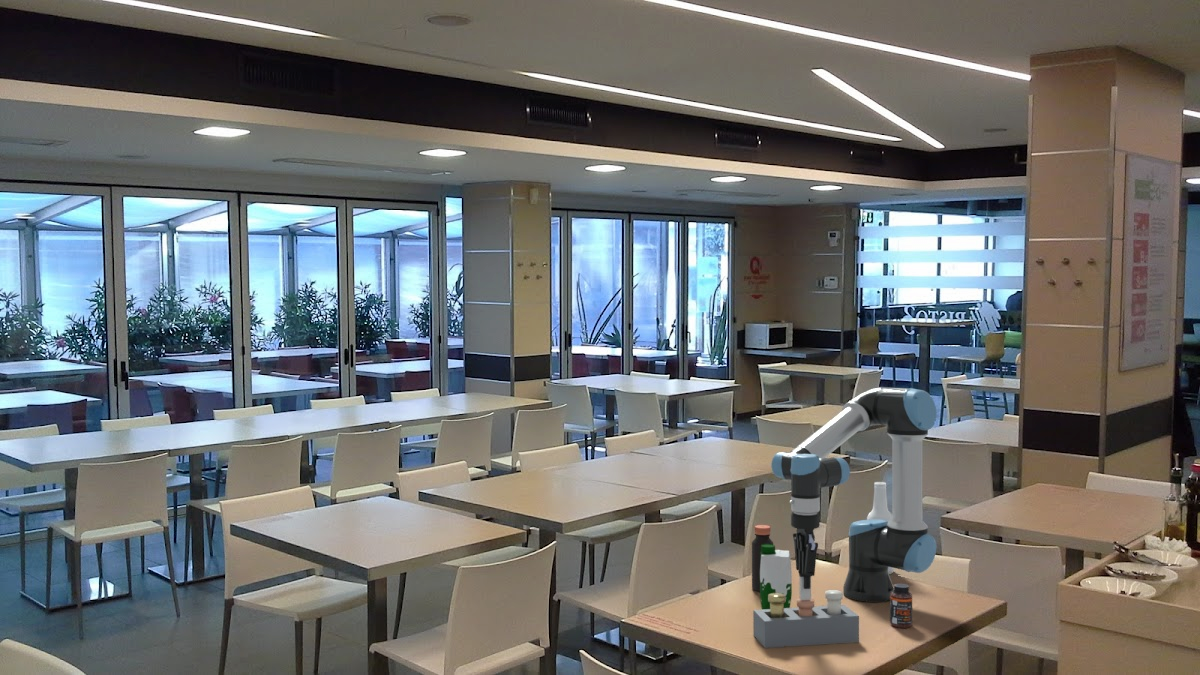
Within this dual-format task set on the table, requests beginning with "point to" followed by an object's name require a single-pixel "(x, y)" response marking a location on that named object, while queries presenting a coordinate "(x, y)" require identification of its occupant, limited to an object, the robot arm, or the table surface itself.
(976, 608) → the table surface
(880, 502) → the alcohol
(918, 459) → the robot arm
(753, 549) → the vinegar
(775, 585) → the milk carton
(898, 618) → the supplement bottle
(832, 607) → the white rounded piece
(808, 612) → the pink rounded piece
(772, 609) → the brass plunger
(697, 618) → the table surface
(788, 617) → the block
